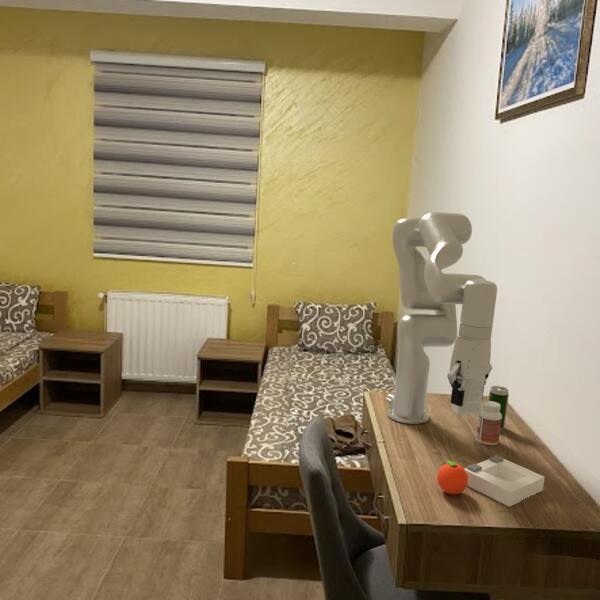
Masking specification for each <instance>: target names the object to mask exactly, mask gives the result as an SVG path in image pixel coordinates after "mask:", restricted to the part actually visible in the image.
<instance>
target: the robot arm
mask: <svg viewBox="0 0 600 600" xmlns="http://www.w3.org/2000/svg"><path fill="white" fill-rule="evenodd" d="M472 231H473V228H472V223H471V221H470V219H469V218H468V216H466V215H465V214H462V213H454V212H429V213H427V214H425V215H423V216H422V217H407V218H406V217H405V218H401V219H399V220H397V222H396V223H395V224H394V226H393V230H392V235H391V237H392V239H391V240H392V247H393V251H394V254H395V257H396V260H397V263H398V272H399V273H398V275H399V276H398V277H399V288H400V289H399V292H400V294H399V295H400V300H401V301H400V302H401V304H402V306H403V308H404V309H407V310H410V311H432V312H433V311H434V312H435V314H428V313H411V314H406V315H403V316H402V317H401V318H400V319H399V321H398V322H397V342H398V343H397V344H398V345H397V347H398V349H397V351H398V352H397V360H396V362H397V363H396V372H395V382H394V393H393V395H392V394H387V396H386V397H385V398H384V402H385V403H387V404H390V405H389V407H388V408H387V410H386V415H387V416H388V417H389V418H390V419H392V420H393V421H396V422H398V423H402V424H403V423H404V424H410V425H420V424H424V423H427V422H428V421H429V419H430V414H429V413H428V411H426V402H427V400H426V399H427V393H428V383H429V376H430V374H429V373H430V365H431V363H430V362H431V361H430V358H429V356H428V354H427V353H426V351H425V350H424V348H429V347H431V348H434V347H435V348H441V347H443V348H444V347H445V348H446V347H450V346H453V349H452V353H451V359H450V365H449V372H448V373H447V374H446V377H447V380H448V382H449V385H450V387H451V396H450V403H451V405H452V404H455V405H457V406H460V407H461V406H463V399H464V390H463V388H464V386H465V383H466V381H467V380H469V379H473V378H476V376H477V374H478V372H479V369H480V368H483V367H484V368H486V371H485V379H484V386H486V384H487V379H488V378H489V375H490V373H491V371H492V370H493V366H492V364H491V355H492V353H491V352H492V333H493V326H494V324H493V323H494V319H495V317H494V316H495V309H496V304H497V303H496V301H497V294H498V293H497V292H498V287H497V284H496V283H495V282H494V281H490V280H487V279H486V278H485V277H483V276H481V275H478V274H466V273H464V274H462V273H461V274H460V273H444V272H442V270H444V269H447V268H449V267H451V266H453V265H455V264H456V263H457V262H459V260H460V259H461V258H462V256H463V253H464V248H463V245H464V244H467V242H468V241H470V239H471V237H472ZM419 247H421V248H426V249H427V251H428V255H429V256H428V258H427V259H426V258H425V257H424V255H423V254H422V253H421V252H420V251H419V250H418V248H419ZM456 305H461V312H460V313H461V314H460V322H459V330H458V319H457V307H456ZM460 373H461V374H463V375H462V377H461V376H459V374H460ZM458 379H460V380H462V381H461V383H460V384H459V382H458ZM484 391H485V387H484V388H483V394H484ZM483 398H484V395H483V396H482V401H483Z"/></svg>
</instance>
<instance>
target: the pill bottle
mask: <svg viewBox="0 0 600 600" xmlns="http://www.w3.org/2000/svg"><path fill="white" fill-rule="evenodd" d="M482 402H483V403H482V408H481V414H480V415H478V416H477V417H478V418H477V425H476V426H477V427H476V434H475V435H476V436H475V439H476V441H477V442H478V443H480V444H483V445H487V446H496V445H498V444H499V441H500V434H501V430H500V428H501V420H502V414H501V413H500V412H499V411H500V407H501V405H500V404H499V403H497V402H493V401H488V400H486V401H482Z"/></svg>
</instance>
